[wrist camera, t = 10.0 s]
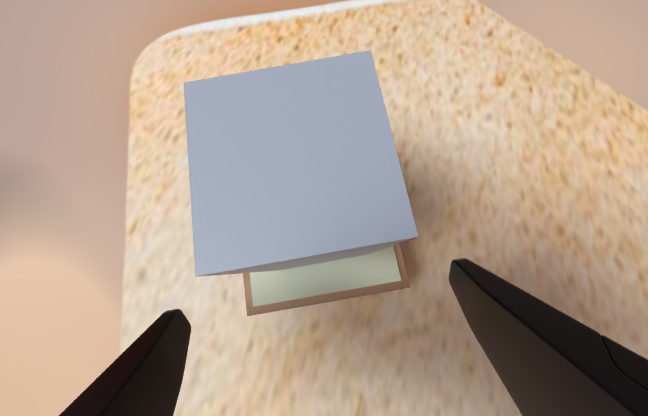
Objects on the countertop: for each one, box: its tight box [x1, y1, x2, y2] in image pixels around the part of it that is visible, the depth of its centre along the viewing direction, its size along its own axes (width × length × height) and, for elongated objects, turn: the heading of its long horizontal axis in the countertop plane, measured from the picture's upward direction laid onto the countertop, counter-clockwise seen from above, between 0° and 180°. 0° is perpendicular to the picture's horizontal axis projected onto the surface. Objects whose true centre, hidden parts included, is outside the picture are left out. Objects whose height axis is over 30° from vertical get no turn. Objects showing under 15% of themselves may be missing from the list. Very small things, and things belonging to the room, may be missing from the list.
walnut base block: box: [243, 243, 410, 316], centre depth 18 cm, size 10×10×4 cm
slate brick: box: [184, 50, 419, 276], centre depth 12 cm, size 5×5×10 cm
